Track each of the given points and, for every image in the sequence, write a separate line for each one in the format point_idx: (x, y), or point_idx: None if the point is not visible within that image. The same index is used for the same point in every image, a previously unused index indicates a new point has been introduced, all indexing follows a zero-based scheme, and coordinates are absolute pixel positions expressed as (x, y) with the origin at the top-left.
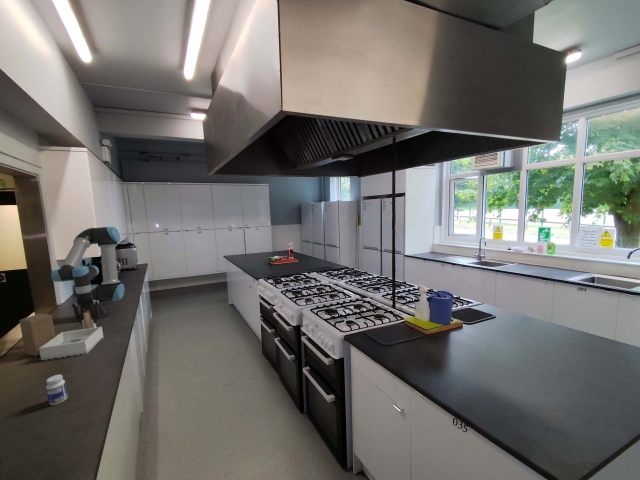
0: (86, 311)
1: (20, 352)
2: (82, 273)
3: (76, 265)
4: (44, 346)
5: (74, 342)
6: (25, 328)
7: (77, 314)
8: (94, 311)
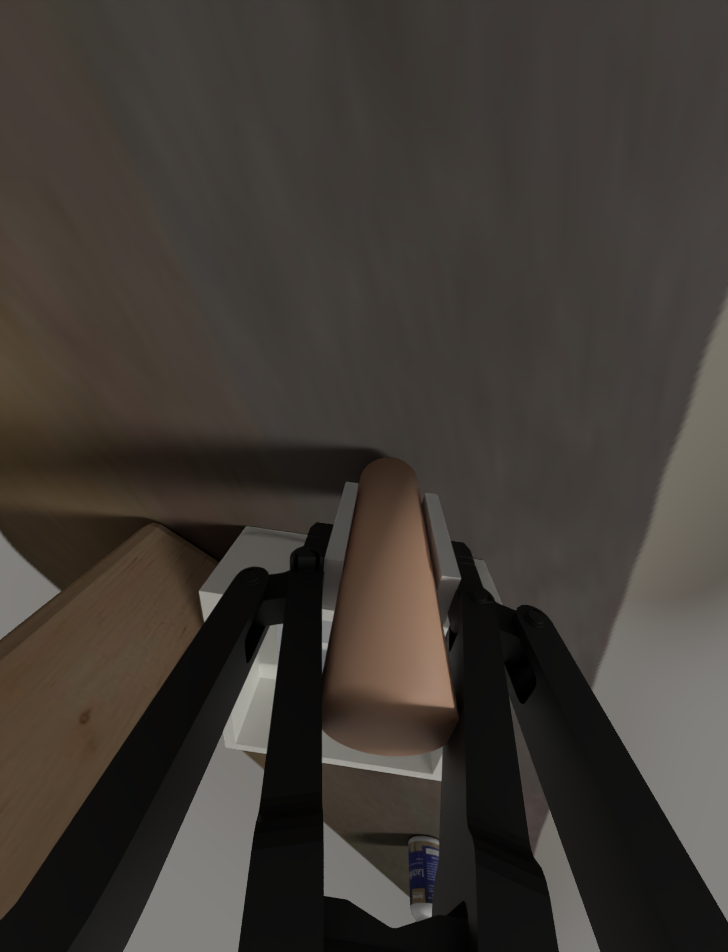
0: (365, 704)
1: (50, 530)
2: None
3: None
4: (236, 732)
5: (387, 768)
6: None
7: (237, 695)
8: (506, 689)
